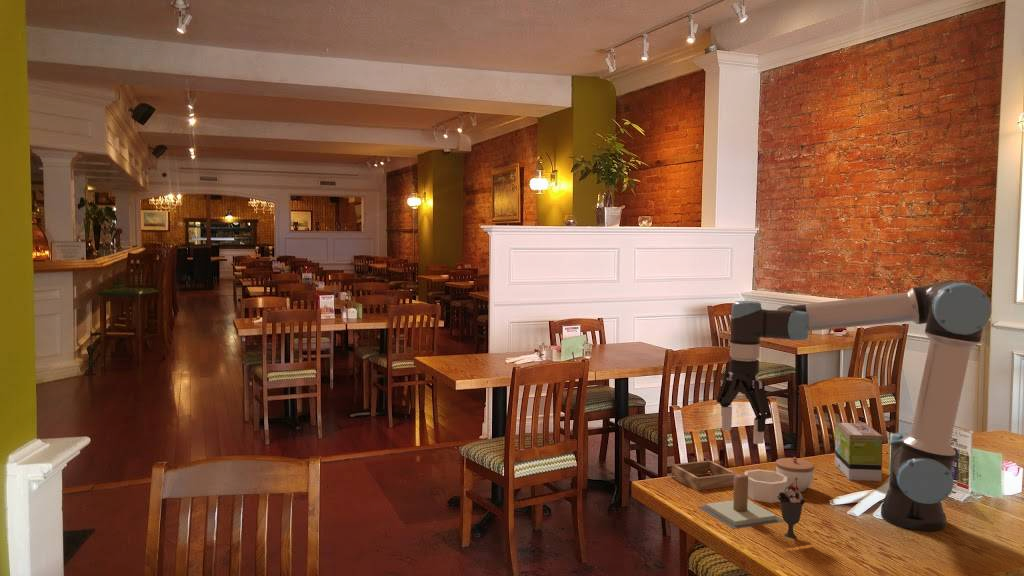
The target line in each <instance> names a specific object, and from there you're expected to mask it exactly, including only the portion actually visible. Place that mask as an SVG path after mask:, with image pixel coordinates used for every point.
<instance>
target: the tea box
mask: <svg viewBox="0 0 1024 576" xmlns="http://www.w3.org/2000/svg"><path fill="white" fill-rule="evenodd" d="M883 437H884V436H883V435H882V434H881V433H880V432H878V431H877V430H875V429H874V428H873V427H872V426H870V425H869V424H868V423H865V422H864V423H862V422H861V423H859V422H835V437H834V439H835V446H834V450H835V451H834V465H835V466H836V467H837V469H839V471H840V472H841V473H842V474H843V475H844V476H845V477H846V478H847V480H849V481H861V480H862V481H865V482H866V481H867V482H881V481H882V476H883V475H882V474H883V468H882V467H883V447H884V446H883V443H884V441H883Z"/></svg>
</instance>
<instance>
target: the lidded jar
mask: <svg viewBox="0 0 1024 576" xmlns="http://www.w3.org/2000/svg"><path fill="white" fill-rule="evenodd" d="M814 470H815V465H814V463H813V462H811V461H809V460H805V459H801V458H797V457H795V456H794V457H783V458H778V459H776V461H775V472H778V473H780V474H783V475H785V476H787V477H788V486H789V485H790V484H791V485H792V484H793V483H794V482H795V483H794V484H793V486H794V487H798V488H799V490H798V491H799V492H800V493H801V492H802V493H803V492H805V491H806V490H807V489H808V487H810V486H811V484H812V482H813V479H814V474H815V473H814ZM795 478H798V479H797V486H796V481H795Z"/></svg>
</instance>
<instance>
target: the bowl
mask: <svg viewBox="0 0 1024 576" xmlns="http://www.w3.org/2000/svg"><path fill="white" fill-rule="evenodd" d="M743 474H744V475H747V476H748V498H749V499H750V500H752V501H758V502H764V503H769V504H773V503H781V502H780V500H779V499H778V496H779V493H781V492H783V491H784V490H785V488H787V487H788V477H787V476H785V475H783V474H780V473H778V472H776V470H775V471H774V470H767V469H758V468H757V469H750V470H745V471H744V473H743Z"/></svg>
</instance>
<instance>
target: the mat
mask: <svg viewBox="0 0 1024 576" xmlns="http://www.w3.org/2000/svg"><path fill="white" fill-rule="evenodd" d="M697 508H699V509H700V510H702V511H703V512H705V513H707V514H709V516H711V517H713V518H715V520H716V519H717V520H718V521H719V522H721V523H723V524H724V525H726V526H728V527H729V528H731V529H733V530H737V529H744V528H751V527H757V526H763V525H764V526H765V525H769V524H776V523H783V522H785V521H784V520H783V518H780V517H778V516H776V520H772V521H765V522H758V523H752V524H745V525H738V526H734V525H732V524H731V523H729V522H727V521H726V520H724V519H722V518H721V517H719V516H718V515H716V514H714V513H713V512H711V511H709V510H708V509H706V505H704V506H703V505H701V506H698V507H697Z"/></svg>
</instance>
